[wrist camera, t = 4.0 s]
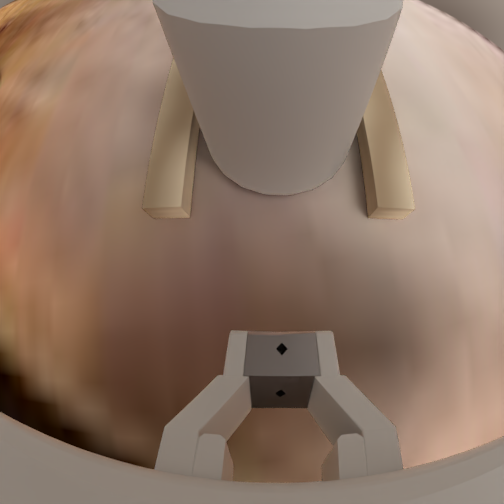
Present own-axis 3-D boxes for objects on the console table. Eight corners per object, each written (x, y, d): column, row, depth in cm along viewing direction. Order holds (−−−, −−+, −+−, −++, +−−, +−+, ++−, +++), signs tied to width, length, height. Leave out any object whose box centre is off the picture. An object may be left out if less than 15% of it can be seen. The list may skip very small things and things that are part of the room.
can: (349, 103, 16) (395, -72, 4) (338, 215, 15) (450, 6, 3) (229, 85, 17) (193, -87, 5) (194, 189, 15) (78, -9, 4)
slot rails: (153, 218, 15) (142, 208, 14) (190, 30, 19) (186, 16, 17) (402, 219, 14) (415, 209, 13) (356, 30, 18) (359, 15, 16)
